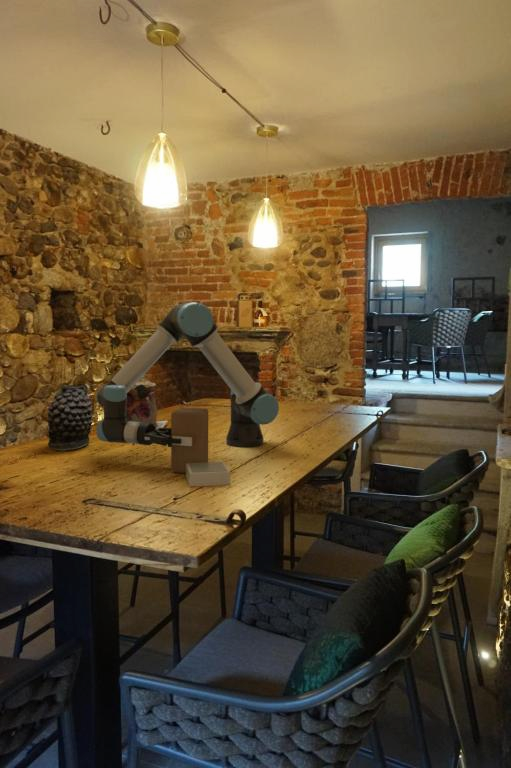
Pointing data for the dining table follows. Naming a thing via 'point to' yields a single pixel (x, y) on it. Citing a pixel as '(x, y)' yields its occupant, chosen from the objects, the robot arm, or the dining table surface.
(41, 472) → the dining table surface
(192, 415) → the block
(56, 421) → the studded ceramic pot
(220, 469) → the tray
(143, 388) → the cookie jar
